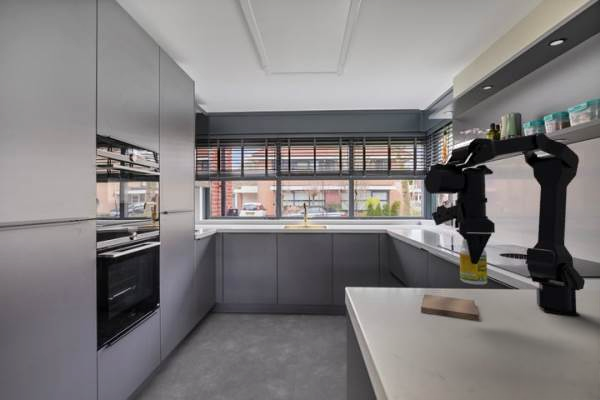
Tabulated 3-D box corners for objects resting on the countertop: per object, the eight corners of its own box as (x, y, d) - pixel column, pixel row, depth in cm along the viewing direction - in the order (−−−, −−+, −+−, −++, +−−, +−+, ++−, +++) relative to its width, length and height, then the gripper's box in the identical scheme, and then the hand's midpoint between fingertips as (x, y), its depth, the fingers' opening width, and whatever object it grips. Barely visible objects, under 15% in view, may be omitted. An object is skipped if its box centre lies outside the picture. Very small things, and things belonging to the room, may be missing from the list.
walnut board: (474, 304, 76) (473, 300, 76) (478, 320, 65) (478, 314, 65) (424, 298, 81) (424, 294, 81) (421, 311, 71) (420, 306, 71)
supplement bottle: (467, 278, 70) (466, 238, 70) (491, 282, 66) (490, 240, 66) (455, 281, 67) (454, 239, 67) (480, 286, 63) (479, 241, 63)
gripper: (433, 196, 79) (434, 254, 78) (432, 193, 62) (434, 266, 62) (480, 195, 74) (482, 256, 74) (494, 191, 57) (496, 270, 57)
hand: (472, 261), depth 67 cm, fingers closed on supplement bottle, 5 cm apart
